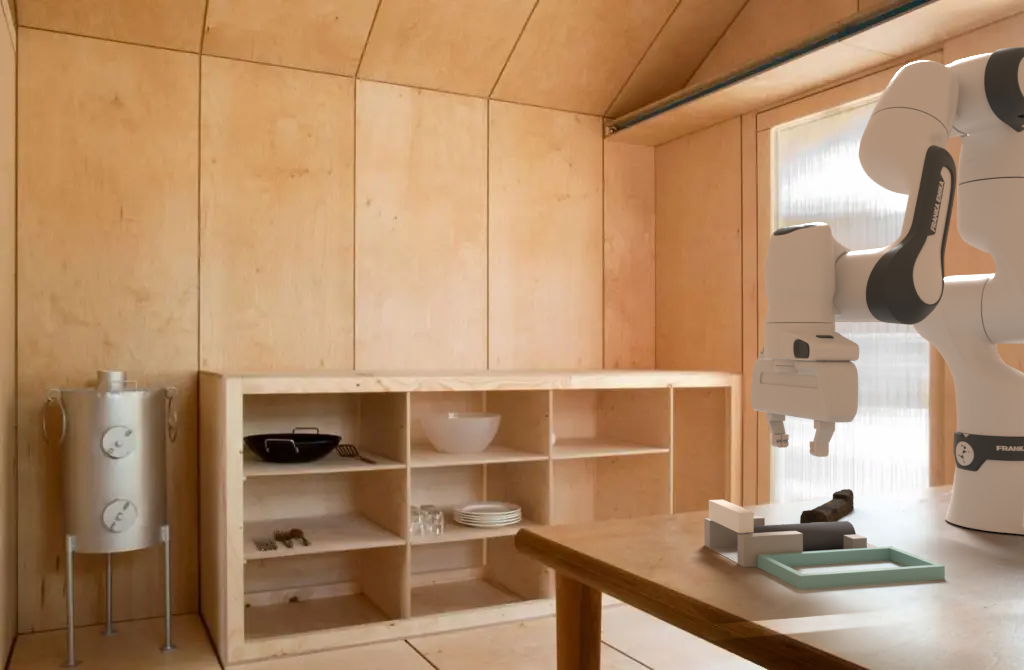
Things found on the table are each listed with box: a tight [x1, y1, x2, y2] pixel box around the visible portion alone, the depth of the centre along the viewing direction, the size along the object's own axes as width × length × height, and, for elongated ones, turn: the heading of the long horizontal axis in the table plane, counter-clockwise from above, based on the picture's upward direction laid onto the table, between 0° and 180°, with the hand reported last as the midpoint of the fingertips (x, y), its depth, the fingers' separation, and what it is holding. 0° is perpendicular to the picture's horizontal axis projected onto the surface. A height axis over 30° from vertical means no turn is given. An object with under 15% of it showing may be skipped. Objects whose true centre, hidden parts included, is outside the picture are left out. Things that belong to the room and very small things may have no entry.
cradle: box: [703, 515, 877, 568], centre depth 112 cm, size 22×11×5 cm, turn 102°
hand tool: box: [799, 488, 855, 524], centre depth 134 cm, size 19×4×5 cm, turn 140°
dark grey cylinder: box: [745, 520, 857, 551], centre depth 112 cm, size 14×4×4 cm, turn 102°
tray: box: [756, 545, 946, 590], centre depth 102 cm, size 19×10×3 cm, turn 103°
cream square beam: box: [708, 499, 755, 533], centre depth 110 cm, size 2×8×2 cm, turn 12°
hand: (798, 451), depth 112 cm, fingers open, 8 cm apart
